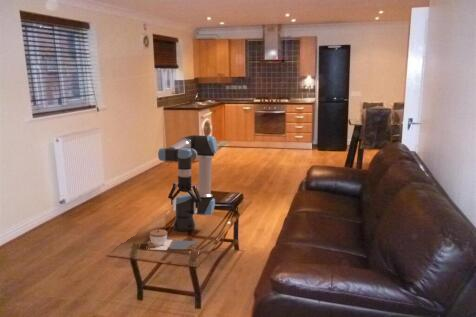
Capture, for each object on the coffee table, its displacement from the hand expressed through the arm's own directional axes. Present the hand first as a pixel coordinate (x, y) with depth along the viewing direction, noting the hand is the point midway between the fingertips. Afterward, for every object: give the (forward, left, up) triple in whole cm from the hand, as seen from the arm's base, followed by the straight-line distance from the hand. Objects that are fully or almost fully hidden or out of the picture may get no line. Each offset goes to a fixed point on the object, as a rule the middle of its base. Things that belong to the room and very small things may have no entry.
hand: (184, 211), depth 237 cm
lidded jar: (-14, -19, -26) cm, 35 cm away
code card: (-14, -19, -26) cm, 35 cm away
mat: (-14, -4, -26) cm, 30 cm away
